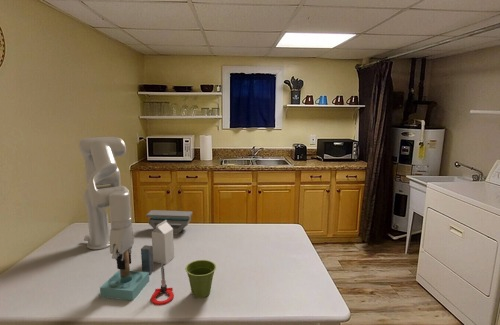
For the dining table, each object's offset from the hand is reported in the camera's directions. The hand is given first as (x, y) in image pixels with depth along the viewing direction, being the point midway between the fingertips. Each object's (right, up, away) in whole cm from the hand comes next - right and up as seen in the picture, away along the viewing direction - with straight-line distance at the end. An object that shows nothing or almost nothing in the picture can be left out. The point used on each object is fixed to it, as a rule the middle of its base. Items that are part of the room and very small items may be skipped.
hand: (124, 265), depth 124 cm
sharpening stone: (+3, +1, +60) cm, 60 cm away
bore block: (0, -10, +2) cm, 10 cm away
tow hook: (+16, -11, -4) cm, 20 cm away
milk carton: (+9, -6, +25) cm, 27 cm away
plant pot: (+31, -11, -1) cm, 33 cm away
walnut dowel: (0, -4, +1) cm, 4 cm away
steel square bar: (+5, -8, +14) cm, 17 cm away
